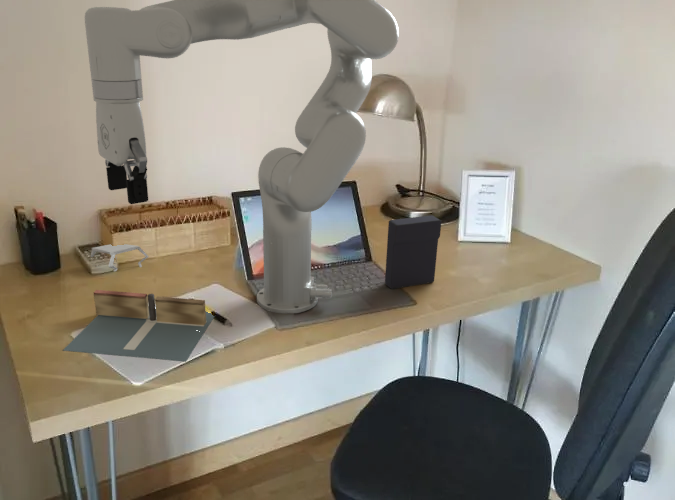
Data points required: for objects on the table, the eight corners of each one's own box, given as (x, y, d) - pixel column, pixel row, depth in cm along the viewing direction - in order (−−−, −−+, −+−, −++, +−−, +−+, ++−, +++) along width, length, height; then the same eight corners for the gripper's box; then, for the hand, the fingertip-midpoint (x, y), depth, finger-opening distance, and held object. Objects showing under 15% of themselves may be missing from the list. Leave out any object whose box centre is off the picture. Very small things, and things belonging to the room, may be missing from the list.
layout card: (217, 313, 121) (217, 311, 121) (186, 363, 105) (185, 360, 105) (110, 305, 124) (109, 303, 123) (62, 352, 107) (62, 350, 107)
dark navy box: (425, 275, 141) (431, 213, 135) (435, 283, 137) (441, 220, 132) (382, 282, 137) (386, 218, 131) (391, 290, 133) (396, 225, 128)
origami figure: (95, 279, 135) (92, 258, 133) (91, 265, 142) (88, 245, 140) (151, 270, 140) (149, 250, 138) (144, 257, 147) (143, 238, 145)
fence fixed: (206, 322, 117) (204, 297, 115) (204, 325, 116) (202, 300, 114) (151, 317, 118) (149, 293, 116) (148, 320, 117) (146, 296, 115)
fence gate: (149, 315, 118) (147, 293, 116) (146, 318, 117) (144, 296, 115) (99, 311, 119) (96, 289, 117) (96, 314, 118) (93, 292, 116)
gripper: (76, 85, 102) (88, 186, 109) (113, 99, 90) (125, 213, 96) (121, 82, 106) (130, 180, 113) (162, 96, 94) (170, 205, 100)
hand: (128, 195), depth 105 cm, fingers open, 8 cm apart
